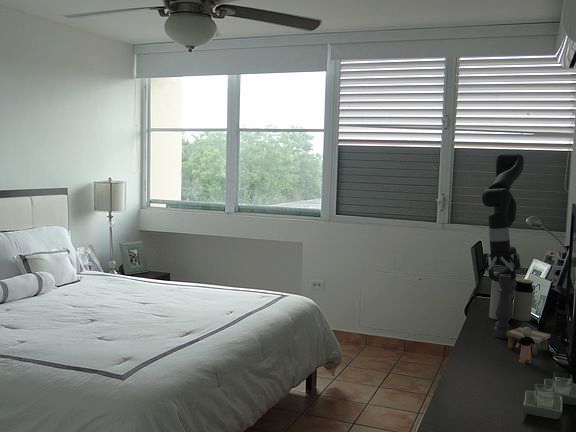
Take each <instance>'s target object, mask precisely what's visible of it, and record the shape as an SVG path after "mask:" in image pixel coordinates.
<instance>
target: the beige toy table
mask: <svg viewBox="0 0 576 432" xmlns="http://www.w3.org/2000/svg"><path fill="white" fill-rule="evenodd" d="M523 328H524V327H521V326H519V327H517V328H514V329H510V331H508V332H506V335H507V336H509V338H507V339H508V341H507V349H511V350H512V349H514V338H515V339H518V340H519V339H520V338H523V337H525V336H524V335H523V333H522V329H523ZM531 331H532V334H530V336H529V337H531V338H532V339H533V340H534V342H535V345H536V348H533V345H532V344H531V345H532V346H531V355H532V356H533V355H534V356H537V355H538V346H539V343H541V350H543V351H547V350H548V342H549V339H550V338H552V337H551V336H552V334H551V333H547V332H542V331H540V330H539V331H538V330H534V329H531Z"/></svg>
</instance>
